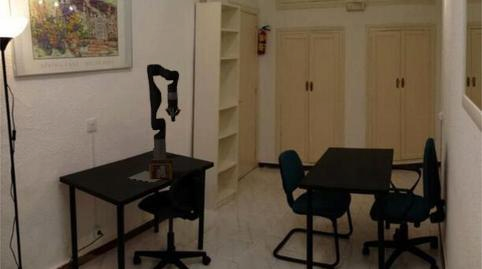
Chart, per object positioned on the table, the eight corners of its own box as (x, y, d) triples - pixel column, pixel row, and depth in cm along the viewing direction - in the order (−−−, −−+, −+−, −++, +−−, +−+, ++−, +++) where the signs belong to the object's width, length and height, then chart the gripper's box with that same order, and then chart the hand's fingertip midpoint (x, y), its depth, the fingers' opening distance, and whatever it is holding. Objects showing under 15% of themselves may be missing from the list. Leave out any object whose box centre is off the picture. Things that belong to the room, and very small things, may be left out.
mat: (127, 178, 332) (127, 177, 332) (145, 171, 349) (145, 171, 349) (153, 183, 322) (153, 182, 322) (170, 175, 339) (169, 175, 339)
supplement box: (150, 159, 342) (148, 164, 326) (172, 158, 343) (171, 164, 328) (151, 173, 344) (149, 179, 329) (173, 172, 345) (172, 178, 330)
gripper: (162, 98, 348) (162, 121, 351) (177, 99, 342) (177, 123, 345) (168, 97, 354) (169, 120, 358) (183, 98, 348) (183, 121, 352)
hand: (173, 121), depth 352 cm, fingers closed
